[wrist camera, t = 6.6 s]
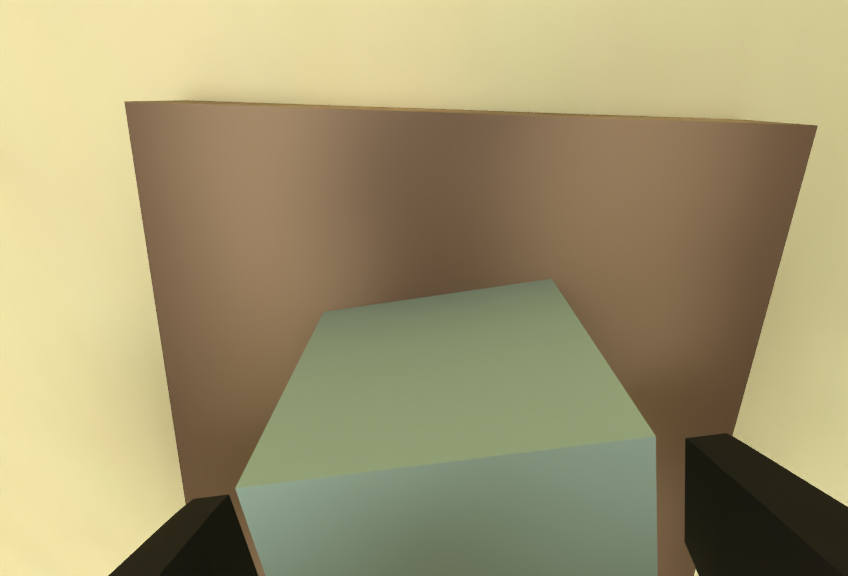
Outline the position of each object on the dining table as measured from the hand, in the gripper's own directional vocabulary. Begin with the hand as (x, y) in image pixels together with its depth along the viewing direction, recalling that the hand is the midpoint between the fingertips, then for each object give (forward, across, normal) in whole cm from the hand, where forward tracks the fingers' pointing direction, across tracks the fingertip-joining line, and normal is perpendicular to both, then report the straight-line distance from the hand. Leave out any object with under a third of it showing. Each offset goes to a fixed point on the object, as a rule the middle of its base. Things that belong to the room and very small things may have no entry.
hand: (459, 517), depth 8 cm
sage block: (+3, 0, 0) cm, 3 cm away
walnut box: (+6, 0, 0) cm, 6 cm away
